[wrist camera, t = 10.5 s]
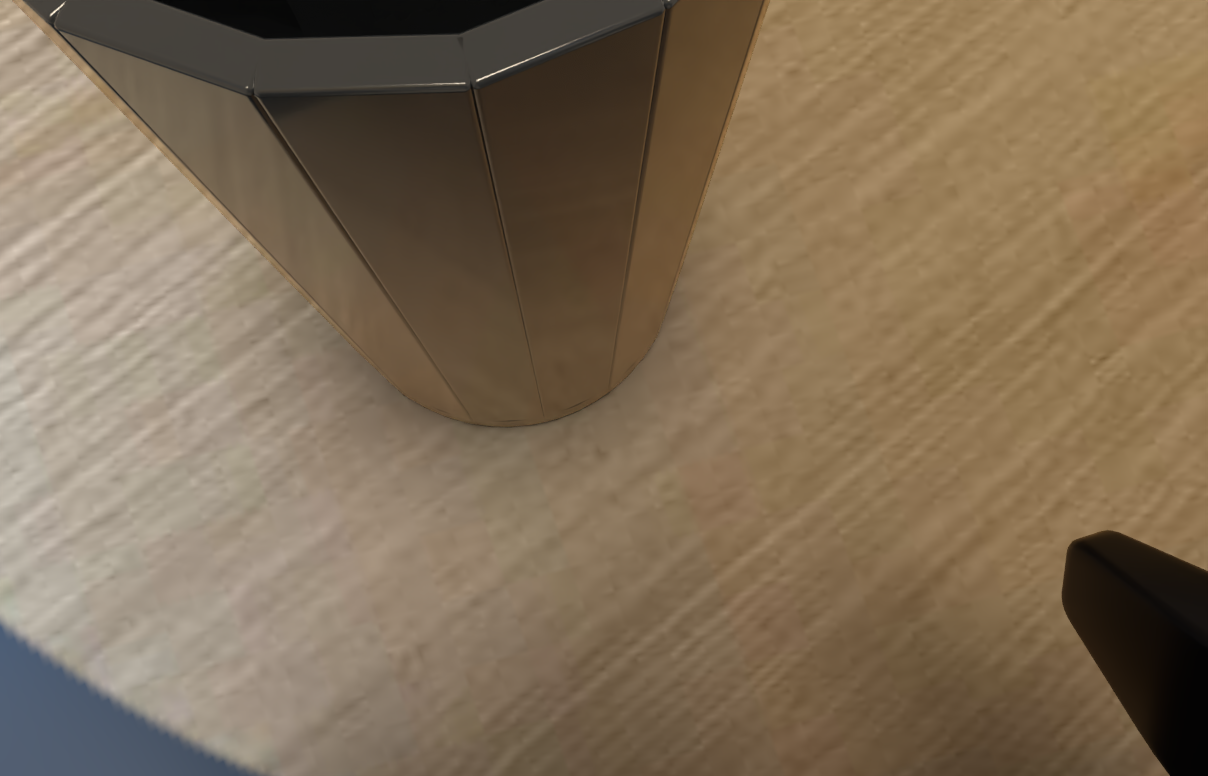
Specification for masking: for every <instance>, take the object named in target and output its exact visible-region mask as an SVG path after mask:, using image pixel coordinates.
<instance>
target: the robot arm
mask: <svg viewBox="0 0 1208 776" xmlns="http://www.w3.org/2000/svg"><path fill="white" fill-rule="evenodd" d="M1062 602H1063V607H1064V610H1065V612H1066V615H1067V617H1068V619H1069V620H1070V622H1071V624H1072V625H1073V627H1074V629H1075V630H1076V632H1077V633H1078V635H1079V637H1080V638H1081V640H1082V641H1083V643H1084V645H1085V646H1086V648H1087V649H1088V651H1089V653H1090V654H1091V656H1092V657H1093V659H1094V660H1095V662H1096V664H1097V665H1098V667H1099V668H1100V670H1101V672H1102V673H1103V675H1104V676H1105V678H1106V680H1107V681H1108V683H1109V684H1110V686H1111V688H1112V689H1113V691H1114V692H1115V694H1116V696H1117V697H1118V699H1119V700H1120V702H1121V704H1122V705H1123V707H1124V708H1125V710H1126V712H1127V713H1128V715H1129V716H1130V718H1131V720H1132V721H1133V723H1134V724H1135V726H1136V727H1137V729H1138V731H1139V732H1140V734H1141V735H1142V737H1143V738H1144V740H1145V741H1146V743H1147V744H1148V746H1149V747H1150V749H1151V750H1152V752H1153V753H1154V755H1155V756H1156V757H1157V759H1158V760H1159V761H1160V763H1161V764H1162V765H1163V767H1164V768H1165V770H1166V771H1167V772H1168V774H1169V775H1170V776H1208V571H1206V570H1204V569H1201V568H1199V567H1197V566H1195V565H1192V564H1190V563H1188V562H1185V561H1183V560H1181V559H1179V558H1176V557H1174V556H1172V555H1169V554H1167V553H1165V552H1163V551H1160V550H1158V549H1156V548H1153V547H1151V546H1149V545H1147V544H1144V543H1142V542H1140V541H1138V540H1135V539H1133V538H1131V537H1128V536H1126V535H1124V534H1121V533H1119V532H1115V531H1108V530H1106V531H1101V532H1097V533H1094V534H1091V535H1088V536H1085V537H1082V538H1079V539H1076V540H1074V541H1072V543H1071V544H1070V545H1069V547H1068V550H1067V555H1066V563H1065V571H1064V579H1063V587H1062Z"/></svg>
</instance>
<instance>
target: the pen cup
mask: <svg viewBox="0 0 1208 776" xmlns="http://www.w3.org/2000/svg"><path fill="white" fill-rule="evenodd" d="M12 1H13V2H14V3H15V4H16V5H17V6H18V7H19V8H20V9H21V10H22V11H23V12H24V13H25V14H26V15H27V16H28V17H29V18H30V19H31V20H32V21H33V22H34V23H35V24H36V25H37V26H38V27H39V28H40V29H41V30H42V31H43V32H44V33H45V34H46V35H47V36H48V37H49V38H50V39H51V40H52V42H53V43H54V44H55V45H56V46H57V47H58V48H59V49H60V50H61V51H62V52H63V53H64V54H65V55H66V56H67V57H68V58H69V59H70V60H71V61H72V62H73V63H74V64H75V65H76V66H77V67H78V68H79V69H80V70H81V71H82V72H83V73H84V74H85V75H86V76H87V77H88V78H89V79H90V80H91V81H92V82H93V83H94V84H95V85H96V86H97V87H98V88H99V89H100V90H101V91H102V92H103V93H104V94H105V95H106V96H107V97H108V99H109V100H110V101H111V102H112V103H113V104H114V105H115V106H116V107H117V108H118V109H119V110H120V111H121V112H122V113H123V114H124V115H125V116H126V117H127V118H128V119H129V120H130V121H131V122H132V123H133V124H134V125H135V126H136V127H137V128H138V129H139V130H140V131H141V132H142V133H143V134H144V135H145V136H146V137H147V138H148V139H149V140H150V141H151V142H152V143H153V144H154V145H155V146H156V147H157V148H158V149H159V150H160V151H161V152H162V153H163V154H164V156H165V157H166V158H167V159H168V160H169V161H170V162H171V163H172V164H173V165H174V166H175V167H176V168H177V169H178V170H179V171H180V172H181V173H182V174H183V175H184V176H185V177H186V178H187V179H188V180H189V181H190V182H191V183H192V184H193V185H194V186H195V187H196V188H197V189H198V190H199V191H200V192H201V193H202V194H203V195H204V196H205V197H206V198H207V199H208V200H209V201H210V202H211V203H212V204H213V205H214V206H215V207H216V208H217V209H218V210H219V211H220V212H221V214H222V215H223V216H224V217H225V218H226V219H227V220H228V221H229V222H230V223H231V224H232V225H233V226H234V227H235V228H236V229H237V230H238V231H239V232H240V233H241V234H242V235H243V236H244V237H245V238H246V239H247V240H248V241H249V242H250V243H251V244H252V245H253V246H254V247H255V248H256V249H257V250H258V251H259V252H260V253H261V254H262V255H263V256H264V257H265V258H266V259H267V260H268V261H269V262H270V263H271V264H272V265H273V266H274V267H275V268H276V269H277V271H278V272H279V273H280V274H281V275H282V276H283V277H284V278H285V279H286V280H287V281H288V282H289V283H290V284H291V285H292V286H293V287H294V288H295V289H296V290H297V291H298V292H299V293H300V294H301V295H302V296H303V297H304V298H305V299H306V300H307V301H308V302H309V303H310V304H311V305H312V306H313V307H314V308H315V309H316V310H317V311H318V312H319V313H320V314H321V315H322V316H323V317H324V318H325V319H326V320H327V321H328V322H329V323H330V324H331V325H332V326H333V328H334V329H335V330H336V331H337V332H338V333H339V334H340V335H341V336H342V337H343V338H344V339H345V340H346V341H347V342H348V343H349V344H350V345H351V346H352V347H353V348H354V349H355V350H356V351H357V352H358V353H359V354H360V355H361V356H362V357H363V358H364V359H366V360H367V361H368V362H369V363H370V364H371V365H372V366H373V367H374V368H375V369H376V370H377V371H378V372H379V373H381V374H382V375H383V376H384V377H385V379H386V380H387V381H388V382H389V383H391V384H392V385H393V386H394V387H396V388H397V389H398V390H399V391H400V392H401V393H402V394H403V395H404V396H406V397H408V398H409V399H411V400H413V401H415V402H417V403H418V404H420V405H421V406H423V407H425V408H427V409H429V410H431V411H434V412H436V413H438V414H441V415H443V416H445V417H448V418H452V419H455V420H459V421H462V422H465V423H471V424H477V425H484V426H494V427H516V426H525V425H534V424H539V423H543V422H547V421H551V420H555V419H558V418H561V417H564V416H566V415H569V414H572V413H574V412H577V411H579V410H581V409H583V408H584V407H586V406H588V405H590V404H592V403H594V402H596V401H597V400H599V399H600V398H601V397H603V396H604V395H606V394H607V393H608V392H610V391H611V390H613V389H614V388H615V387H616V386H617V385H618V384H619V383H621V382H622V381H623V380H624V379H625V378H626V377H627V376H628V375H629V374H630V373H631V372H632V371H633V370H634V368H635V367H636V366H637V365H638V363H639V362H640V361H641V360H642V359H643V357H644V356H645V354H646V353H647V351H648V350H649V348H650V346H651V345H652V343H653V342H654V341H655V339H656V338H657V336H658V333H659V330H660V328H661V325H662V322H663V320H664V317H665V314H666V311H667V308H668V306H669V303H670V300H671V297H672V294H673V292H674V289H675V286H676V283H677V281H678V278H679V275H680V272H681V269H682V266H683V263H684V260H685V257H686V254H687V251H688V248H689V244H690V241H691V238H692V235H693V232H694V229H695V226H696V223H697V220H698V217H699V214H700V211H701V208H702V205H703V202H704V199H705V196H706V193H707V190H708V187H709V184H710V181H711V178H712V175H713V172H714V169H715V166H716V163H717V160H718V157H719V154H720V151H721V148H722V145H723V141H724V138H725V135H726V132H727V129H728V126H729V123H730V120H731V117H732V114H733V111H734V108H735V105H736V102H737V99H738V96H739V93H740V90H741V87H742V84H743V81H744V78H745V75H746V72H747V69H748V66H749V63H750V60H751V57H752V54H753V51H754V48H755V45H756V42H757V39H758V35H759V32H760V29H761V26H762V23H763V20H764V17H765V14H766V11H767V8H768V5H769V2H770V0H12Z"/></svg>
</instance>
